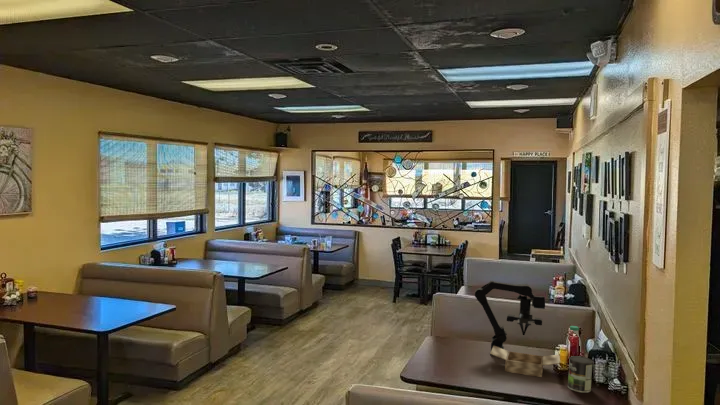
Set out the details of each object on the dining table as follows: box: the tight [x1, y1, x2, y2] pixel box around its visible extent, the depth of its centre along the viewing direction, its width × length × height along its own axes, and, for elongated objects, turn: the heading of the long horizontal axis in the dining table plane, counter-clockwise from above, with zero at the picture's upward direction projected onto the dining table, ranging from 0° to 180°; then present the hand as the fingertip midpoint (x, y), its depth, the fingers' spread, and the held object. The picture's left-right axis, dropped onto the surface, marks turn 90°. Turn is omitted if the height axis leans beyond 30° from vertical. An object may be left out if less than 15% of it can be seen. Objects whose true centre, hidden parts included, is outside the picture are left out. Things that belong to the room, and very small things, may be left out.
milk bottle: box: [565, 325, 582, 353], centre depth 291 cm, size 8×8×20 cm
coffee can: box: [567, 356, 594, 394], centre depth 252 cm, size 10×10×14 cm
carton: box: [504, 350, 544, 378], centre depth 277 cm, size 18×16×6 cm
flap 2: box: [542, 354, 561, 366], centre depth 272 cm, size 8×15×1 cm, turn 160°
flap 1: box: [489, 346, 509, 360], centre depth 281 cm, size 8×15×1 cm, turn 159°
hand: (523, 335), depth 297 cm, fingers closed
